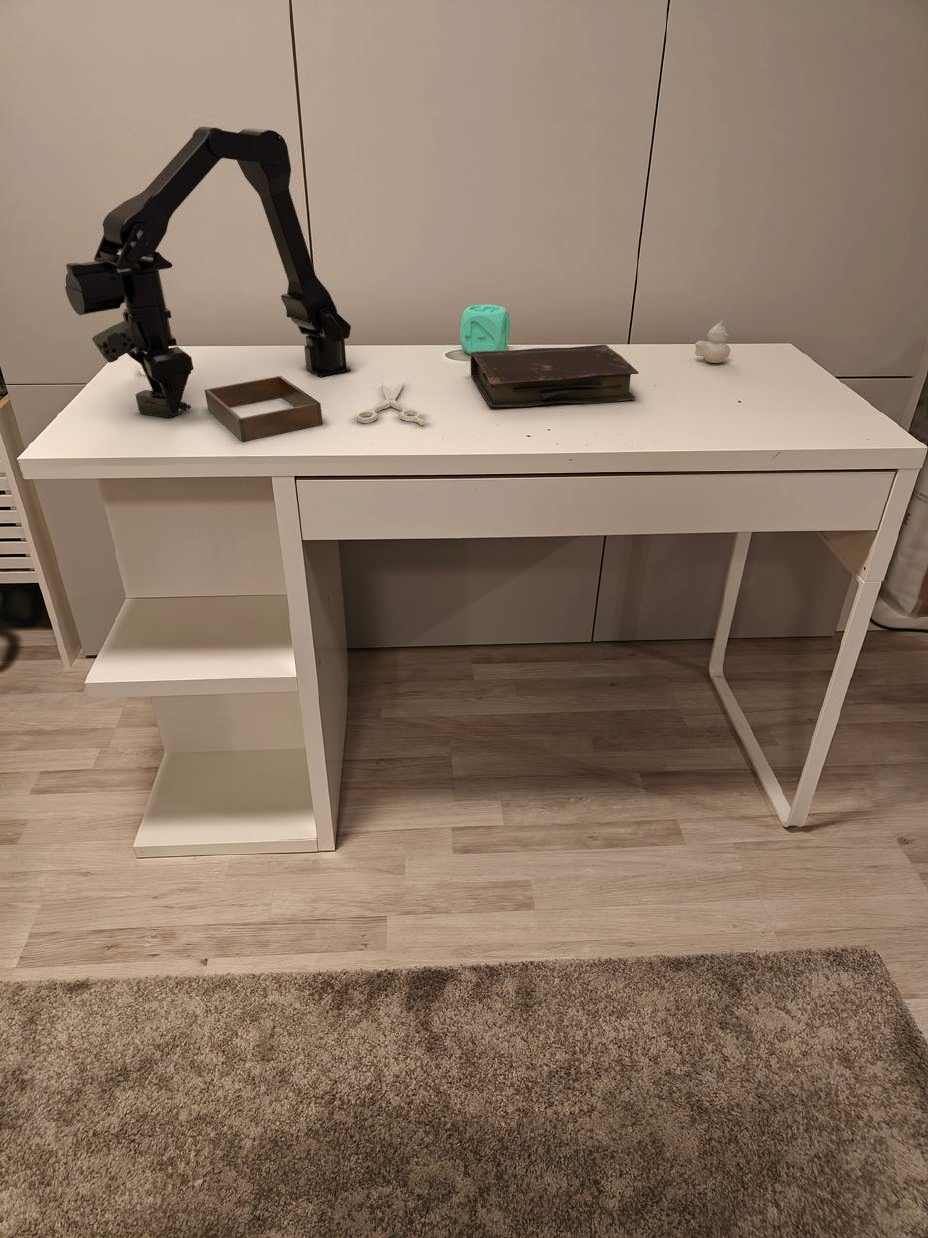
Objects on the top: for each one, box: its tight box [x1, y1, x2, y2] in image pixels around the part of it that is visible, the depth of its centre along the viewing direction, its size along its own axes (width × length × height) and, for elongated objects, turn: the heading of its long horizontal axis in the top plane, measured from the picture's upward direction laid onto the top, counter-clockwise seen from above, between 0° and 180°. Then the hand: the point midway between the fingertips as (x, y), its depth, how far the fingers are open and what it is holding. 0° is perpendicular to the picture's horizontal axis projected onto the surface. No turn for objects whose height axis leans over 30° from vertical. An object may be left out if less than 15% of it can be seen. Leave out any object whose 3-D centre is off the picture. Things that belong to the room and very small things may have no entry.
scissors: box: [356, 382, 425, 426], centre depth 137 cm, size 11×1×20 cm
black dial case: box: [134, 389, 192, 419], centre depth 134 cm, size 5×7×3 cm, turn 70°
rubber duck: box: [694, 318, 731, 364], centre depth 154 cm, size 5×7×8 cm
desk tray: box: [204, 375, 324, 443], centre depth 132 cm, size 13×16×4 cm
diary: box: [470, 344, 639, 408], centre depth 142 cm, size 19×25×5 cm
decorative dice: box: [459, 304, 511, 356], centre depth 160 cm, size 8×8×8 cm
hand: (166, 403), depth 133 cm, fingers open, 9 cm apart
